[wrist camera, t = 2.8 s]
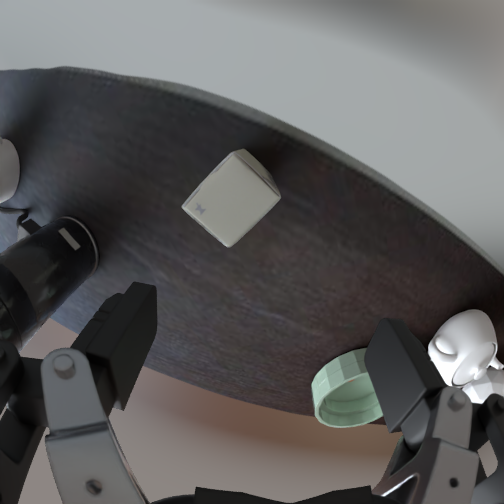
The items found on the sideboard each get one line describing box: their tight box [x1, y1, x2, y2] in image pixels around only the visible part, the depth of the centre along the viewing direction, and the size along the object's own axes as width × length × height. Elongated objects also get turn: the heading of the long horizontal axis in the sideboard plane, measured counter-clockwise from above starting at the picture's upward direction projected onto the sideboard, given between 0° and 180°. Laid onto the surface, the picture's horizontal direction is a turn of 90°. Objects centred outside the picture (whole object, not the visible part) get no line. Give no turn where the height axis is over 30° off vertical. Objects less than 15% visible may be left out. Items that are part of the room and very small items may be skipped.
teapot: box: [428, 309, 504, 388], centre depth 33 cm, size 22×14×11 cm, turn 72°
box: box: [182, 149, 281, 247], centre depth 23 cm, size 5×4×13 cm
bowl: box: [312, 348, 383, 428], centre depth 38 cm, size 15×15×6 cm
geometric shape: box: [462, 367, 504, 404], centre depth 37 cm, size 14×15×15 cm
